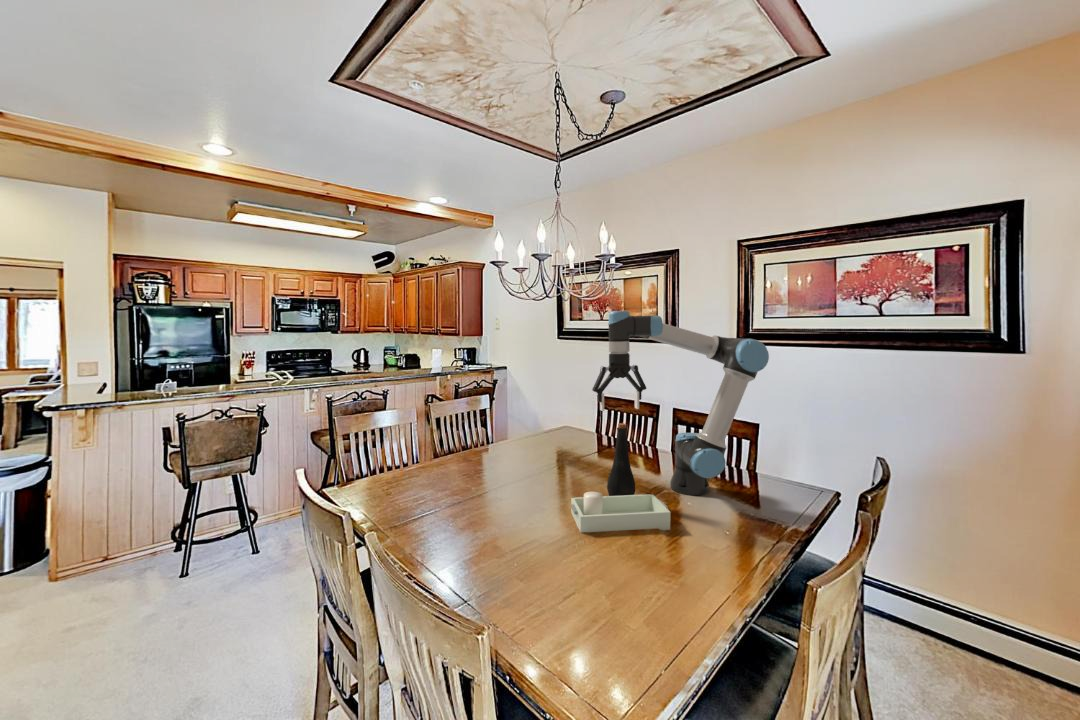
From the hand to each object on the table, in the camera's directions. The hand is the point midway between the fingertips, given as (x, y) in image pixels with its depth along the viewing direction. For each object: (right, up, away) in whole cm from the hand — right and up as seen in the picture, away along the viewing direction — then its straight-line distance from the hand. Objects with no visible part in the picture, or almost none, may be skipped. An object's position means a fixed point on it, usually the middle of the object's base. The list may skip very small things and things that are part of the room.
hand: (619, 409), depth 170 cm
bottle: (+1, -36, +3) cm, 36 cm away
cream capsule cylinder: (-12, -36, -15) cm, 41 cm away
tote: (-3, -37, -14) cm, 40 cm away
